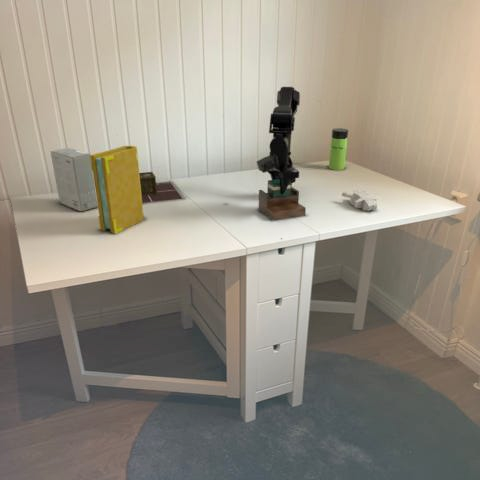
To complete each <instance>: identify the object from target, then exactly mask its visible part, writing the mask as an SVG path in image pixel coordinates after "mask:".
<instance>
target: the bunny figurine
mask: <svg viewBox="0 0 480 480" xmlns="http://www.w3.org/2000/svg"><path fill="white" fill-rule="evenodd" d="M352 191H353V193H350V192H347V191H343V192H342V194H341V196H342V197H344V198H348V199H350V204H351V205H352V206H353V207H354V208H359V209H362V211H363V212H367V211H372V210H373V211H374V210H377V209H378V204H377V198H376V197H374V196H370V195H369V193H368V192H367V191H364V190H362V191H359V190H358V189H354V190H352Z"/></svg>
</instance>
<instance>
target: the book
mask: <svg viewBox="0 0 480 480" xmlns="http://www.w3.org/2000/svg"><path fill="white" fill-rule="evenodd" d="M138 155H139V154H138V147H137V146H136V145H123V146H118V147H116V148H112V149H108V150H105V151H101V152H96V153H93V154H90V162H91V168H92V172H93V178H94V185H95V192H96V198H97V206H98V207H97V209H98V221H99V228H100V231H103V232H106V231H108V230H110V234H113V235H115V234H118V233H120V232H123V231H124V230H126V229H127V228H129V227H132V226H133V225H136V224H139V223H141V222H143V221H144V220H145V215H144V205H143V204H144V203H142V194H141V184H140V175H139V173H140V165H139V156H138Z"/></svg>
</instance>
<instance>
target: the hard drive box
mask: <svg viewBox="0 0 480 480" xmlns="http://www.w3.org/2000/svg"><path fill="white" fill-rule="evenodd" d="M90 155H91V153H89V152H85V151H81V150H77V149H74V148H70V147H65V148H58V149H54V150H53V149H52V150H50V157H51V162H52V168H53V173H54V178H55V183H56V184H55V185H56V189H57V195H58V199H59V203H60V204H62V205H64V206H67V207H68V208H72V209H73V210H75V211H78V212H85V211H87V210H91V209H95V208H98V202H97V196H96V189H95V182H94V175H93V171H92V168H91V162H90Z"/></svg>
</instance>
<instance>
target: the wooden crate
mask: <svg viewBox="0 0 480 480" xmlns="http://www.w3.org/2000/svg"><path fill="white" fill-rule="evenodd" d="M139 175H140V184H141V194H142V197H144V196H154V195H157V194H158V189H157V183H158V182H157V179H156V177H157V176H156V175H155V174H154V172H153V171H146V172H139Z"/></svg>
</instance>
